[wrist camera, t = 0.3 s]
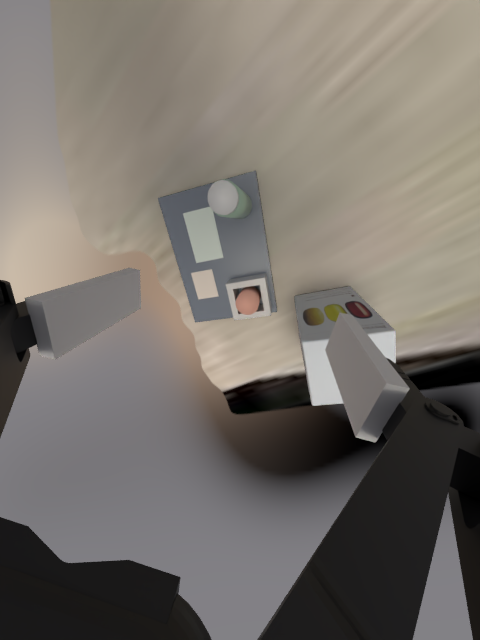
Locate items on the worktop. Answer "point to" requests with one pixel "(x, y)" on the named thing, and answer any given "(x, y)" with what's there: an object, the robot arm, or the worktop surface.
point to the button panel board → (219, 252)
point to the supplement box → (316, 329)
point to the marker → (229, 200)
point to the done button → (248, 300)
